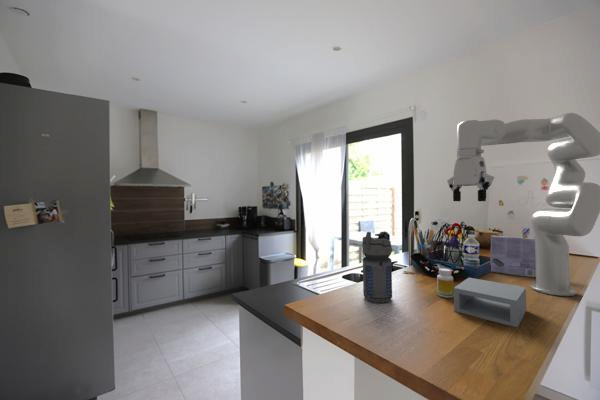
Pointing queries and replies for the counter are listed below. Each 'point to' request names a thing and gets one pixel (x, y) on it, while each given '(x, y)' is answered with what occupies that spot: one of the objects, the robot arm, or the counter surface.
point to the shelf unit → (491, 301)
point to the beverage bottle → (377, 268)
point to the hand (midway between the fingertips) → (468, 201)
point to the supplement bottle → (445, 283)
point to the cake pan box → (513, 256)
